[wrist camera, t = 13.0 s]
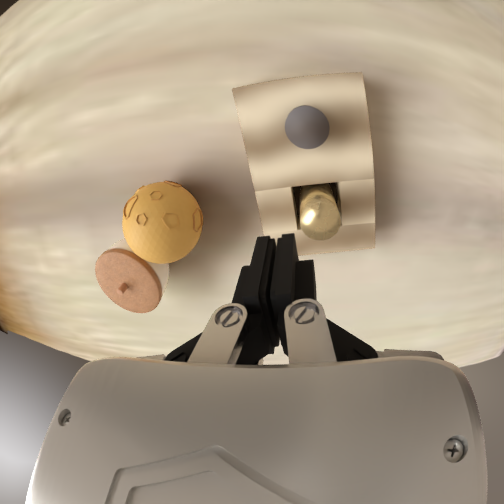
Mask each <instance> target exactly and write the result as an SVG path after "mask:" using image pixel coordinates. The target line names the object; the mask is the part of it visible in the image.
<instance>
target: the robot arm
mask: <svg viewBox="0 0 504 504" xmlns="http://www.w3.org/2000/svg"><path fill="white" fill-rule="evenodd" d="M279 340H281V345H282V346H283V351H284V353H285V354H286V355H287V356H288V357H289V364H286V365H263V357H265V356H266V355H267V354H274V348H275V347H276V346H279ZM454 447H455V449H454ZM26 504H487V463H486V451H485V442H484V434H483V429H482V424H481V419H480V414H479V410H478V406H477V402H476V399H475V396H474V393H473V390H472V388H471V386H470V383H469V381H468V379H467V378H466V376H465V374H464V373H463V372H462V371H461V370H460V369H459V368H458V367H457V366H456V365H454V364H452V363H450V362H447V361H444V359H443V358H442V356H441V355H439V354H438V353H436V352H432V351H412V350H392V349H385V350H384V352H381V351H375V349H374V348H372V347H371V346H370V345H368V344H367V343H365V342H363V341H362V340H360V339H358V338H357V337H355V336H354V335H352V334H350V333H349V332H347V331H346V330H344V329H343V328H341V327H339V326H338V325H336V324H335V323H333V322H331V321H330V320H328V319H327V318H326V316H325V313H324V309H323V307H322V305H321V304H320V303H319V302H318V301H317V300H316V281H315V270H314V262H313V260H304V261H299V259H298V252H297V246H296V240H295V234H294V233H289V234H282V238H278V239H277V246H276V242H275V239H274V238H272V239H271V238H270V236H262V237H257V240H256V244H255V248H254V252H253V256H252V260H251V264H250V266H243V267H242V269H241V272H240V276H239V279H238V283H237V286H236V290H235V293H234V297H233V300H232V303H229V304H226V305H223V306H221V307H219V308H218V309H217V310H215V311H214V313H213V314H212V316H211V318H210V320H209V322H208V323H207V325H206V327H205V329H204V331H203V332H202V333H200V334H199V335H197V336H196V337H194V338H193V339H191V340H189V341H188V342H186V343H185V344H183V345H181V346H180V347H178V348H177V349H175V350H173V351H172V352H171V353H169V354H168V355H167V357H165V355H164V354H162V355H155V356H146V357H137V358H129V357H109V358H102V359H98V360H94V361H91V362H89V363H87V364H85V365H84V366H83V367H82V368H81V369H80V370H79V371H78V372H77V374H76V375H75V377H74V378H73V380H72V381H71V383H70V385H69V387H68V389H67V390H66V392H65V394H64V396H63V398H62V400H61V402H60V404H59V406H58V408H57V410H56V412H55V415H54V417H53V419H52V421H51V424H50V426H49V428H48V431H47V433H46V436H45V438H44V441H43V444H42V447H41V449H40V452H39V455H38V458H37V461H36V465H35V468H34V471H33V475H32V478H31V482H30V486H29V490H28V495H27V499H26Z"/></svg>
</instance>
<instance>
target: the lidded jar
mask: <svg viewBox="0 0 504 504" xmlns="http://www.w3.org/2000/svg"><path fill="white" fill-rule="evenodd" d="M95 272H96V277H97V280H98V283H99V285H100V287H101V288H102V290H103V291H104V293H105V294H106V295H107V296H108V297H109V298H110V299H111V300H112V301H113V302H114V303H116V304H117V305H119V306H120V307H122V308H124V309H126V310H129V311H132V312H136V313H146V312H150V311H152V310H154V309H155V308H156V307H157V305H158V304H159V302H160V300H161V297H162V295H163V293H164V292H165V289H166V286H167V284H168V280H169V264H168V263H166V264H157V263H152V262H149V261H146V260H144V259H142V258H141V257H139V256H138V255H136V254H135V253H134V252H133V251H132V249H131V248H130V247H129V245H128V243H127V242H126V239H125V238H124V239H122V240H120V241H118V242H116V243H115V244H113V245H112V246H111V247H110V248H109V249H108V250H107V251H105V252H104V253H103V254H102V255H101V256H100V257H99V258H98V260H97V262H96V267H95Z"/></svg>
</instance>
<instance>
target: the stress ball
mask: <svg viewBox="0 0 504 504" xmlns="http://www.w3.org/2000/svg"><path fill="white" fill-rule="evenodd" d="M122 225H123V233H124V237H125V239H126V242H127V243H128V245H129V247H130V248H131V249H132V251H133V252H134V253H135V254H136V255H138V256H139V257H141V258H142V259H144V260H146V261H149V262H152V263H157V264H166V263H171V262H175V261H177V260H180V259H181V258H183V257H185V256H186V255H187V254H188V253H189V252H190V251H191V250H192V249H193V248H194V247H195V245H196V244H197V242H198V240H199V237H200V234H201V230H202V225H203V215H202V211H201V210H200V207H199V205H198V203H197V201H196V200H195V198H194V197H193V196H192V194H191V193H190V192H188V191H187V190H186V189H184V188H183V187H182V185H180V184H178V183H175V182H172V181H164V182H157V183H153V184H149V185H147V186H142V187H141V188H139V189H138V190H137V191H136V193H135V194H134V195H133V196H132V197H131V198H130V199H129V200H128V201H127V203H126V205H125V207H124V210H123V221H122Z"/></svg>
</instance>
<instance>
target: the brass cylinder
mask: <svg viewBox="0 0 504 504" xmlns="http://www.w3.org/2000/svg"><path fill="white" fill-rule="evenodd" d="M300 226H301V229H302V231H303V232H304V234H305V235H306V236H308V237H309V238H311V239H314V240H327V239H329V238H331V237H333V236H334V235H335V234H336V233H337V232H338V230H339V228H340V226H341V217H340V214H339V211H338V207H337V204H336V201H335V198H334V195H333V192H332V189H331V187H330V185H329V184H328V183H321V184H312V185H303V186H301V188H300Z"/></svg>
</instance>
